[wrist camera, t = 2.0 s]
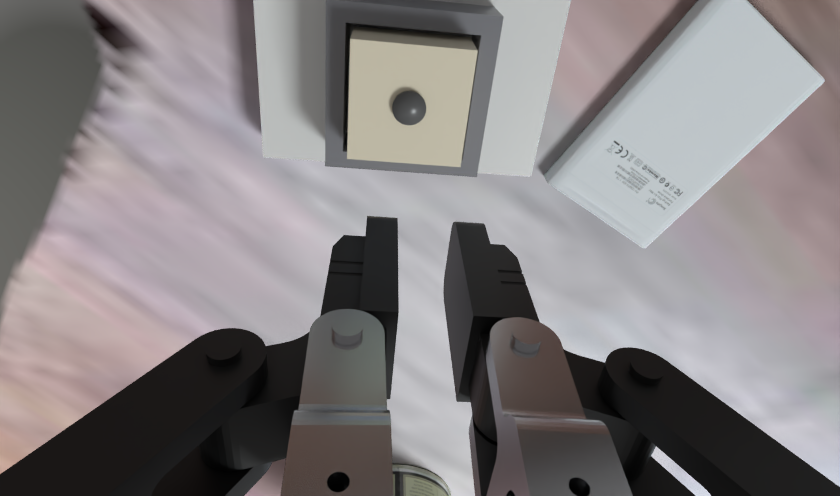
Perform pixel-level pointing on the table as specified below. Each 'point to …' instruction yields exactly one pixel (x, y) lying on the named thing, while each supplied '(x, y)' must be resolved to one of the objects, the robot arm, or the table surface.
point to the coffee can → (417, 482)
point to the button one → (409, 96)
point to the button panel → (416, 12)
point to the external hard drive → (684, 119)
